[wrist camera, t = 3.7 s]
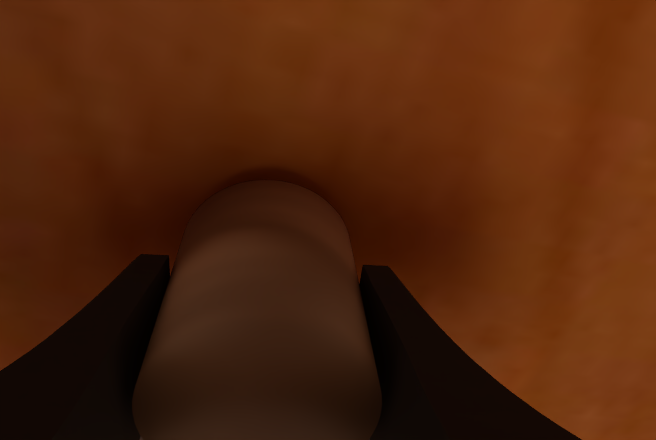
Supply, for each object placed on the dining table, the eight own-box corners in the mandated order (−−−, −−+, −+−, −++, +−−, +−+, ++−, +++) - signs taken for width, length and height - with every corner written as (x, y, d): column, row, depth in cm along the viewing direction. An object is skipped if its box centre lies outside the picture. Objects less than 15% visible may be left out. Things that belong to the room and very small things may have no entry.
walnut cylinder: (184, 316, 14) (141, 487, 10) (178, 173, 12) (120, 314, 8) (340, 321, 15) (363, 487, 10) (362, 185, 13) (401, 324, 8)
